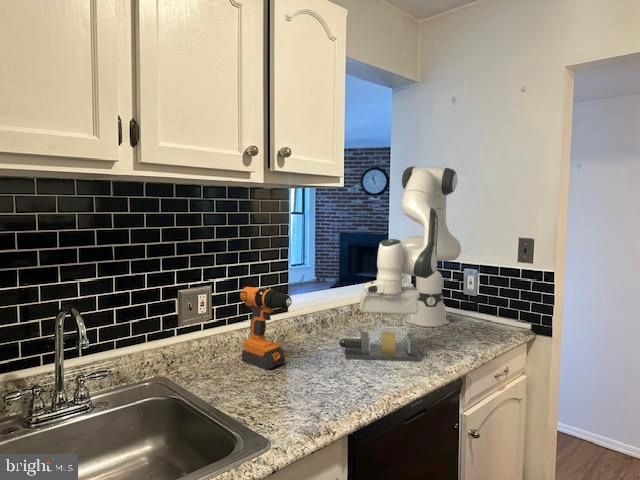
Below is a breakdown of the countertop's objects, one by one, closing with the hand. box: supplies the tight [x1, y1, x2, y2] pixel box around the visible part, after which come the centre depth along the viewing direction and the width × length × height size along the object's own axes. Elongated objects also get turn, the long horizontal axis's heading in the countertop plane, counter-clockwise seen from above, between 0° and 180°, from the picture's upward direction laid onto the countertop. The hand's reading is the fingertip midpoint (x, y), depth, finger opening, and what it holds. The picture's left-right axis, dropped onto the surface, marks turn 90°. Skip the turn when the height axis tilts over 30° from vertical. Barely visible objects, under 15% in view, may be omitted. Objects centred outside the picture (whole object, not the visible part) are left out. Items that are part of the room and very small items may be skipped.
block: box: [380, 331, 397, 353], centre depth 155 cm, size 4×4×6 cm
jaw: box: [339, 331, 371, 354], centre depth 155 cm, size 9×10×5 cm
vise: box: [344, 332, 421, 362], centre depth 155 cm, size 12×25×6 cm, turn 87°
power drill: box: [239, 286, 293, 371], centre depth 142 cm, size 22×7×25 cm, turn 50°
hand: (388, 325), depth 155 cm, fingers open, 8 cm apart
